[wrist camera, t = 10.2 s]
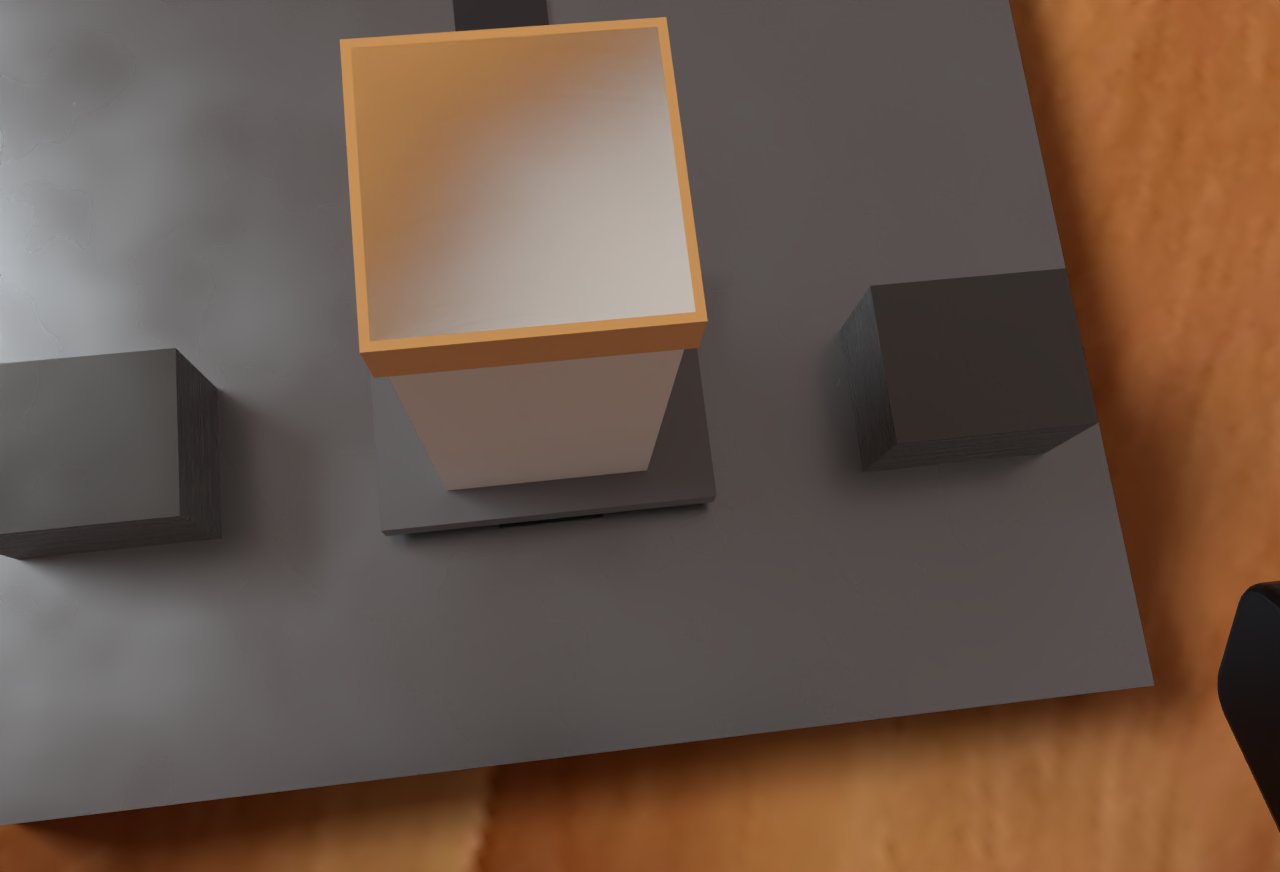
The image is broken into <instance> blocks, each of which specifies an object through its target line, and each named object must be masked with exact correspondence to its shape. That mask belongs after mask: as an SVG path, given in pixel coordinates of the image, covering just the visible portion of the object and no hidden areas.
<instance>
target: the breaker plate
mask: <svg viewBox="0 0 1280 872" xmlns="http://www.w3.org/2000/svg"><path fill="white" fill-rule="evenodd" d="M659 17H666V19H667V26H668V33H669V41H670V48H671V56H672V63H673V70H674V78H675V85H676V92H677V100H678V107H679V114H680V122H681V129H682V136H683V144H684V151H685V158H686V166H687V173H688V180H689V188H690V195H691V202H692V210H693V217H694V224H695V232H696V239H697V246H698V254H699V261H700V269H701V276H702V283H703V291H704V298H705V305H706V313H707V320H708V322H707V324H706V327H705V330H704V333H703V336H702V339H701V342H700V345H699V348H697V351H698V359H699V366H700V374H701V381H702V389H703V396H704V404H705V411H706V419H707V426H708V434H709V441H710V449H711V456H712V464H713V471H714V479H715V486H716V494H717V496H716V498H715V500H714V501H713V502H709V503H700V504H690V505H681V506H671V507H661V508H652V509H642V510H633V511H623V512H613V513H604V514H594V515H585V516H575V517H565V518H556V519H546V520H537V521H527V522H517V523H508V524H498V525H489V526H479V527H469V528H460V529H450V530H441V531H431V532H421V533H412V534H402V535H393V536H385V535H384V534H383V533H382V532H381V526H380V510H379V495H378V480H377V465H376V449H375V434H374V419H373V403H372V388H371V373H370V370H369V369H368V367H367V365H366V363H365V361H364V360H363V358H362V356H361V354H360V350H359V334H358V319H357V303H356V287H355V271H354V256H353V240H352V224H351V208H350V193H349V177H348V161H347V146H346V130H345V114H344V98H343V83H342V67H341V51H340V39H353V38H368V37H382V36H397V35H412V34H426V33H441V32H455V31H470V30H484V29H499V28H513V27H528V26H543V25H557V24H572V23H586V22H601V21H615V20H630V19H644V18H659ZM1146 686H1154V681H1153V676H1152V671H1151V666H1150V662H1149V657H1148V652H1147V648H1146V643H1145V638H1144V634H1143V629H1142V624H1141V619H1140V615H1139V610H1138V605H1137V601H1136V596H1135V591H1134V587H1133V582H1132V577H1131V572H1130V568H1129V563H1128V558H1127V554H1126V549H1125V544H1124V540H1123V535H1122V530H1121V525H1120V521H1119V516H1118V511H1117V507H1116V502H1115V497H1114V493H1113V488H1112V483H1111V478H1110V474H1109V469H1108V464H1107V460H1106V455H1105V450H1104V446H1103V441H1102V436H1101V431H1100V427H1099V422H1098V417H1097V413H1096V408H1095V403H1094V399H1093V394H1092V389H1091V384H1090V380H1089V375H1088V370H1087V366H1086V361H1085V356H1084V352H1083V347H1082V342H1081V337H1080V333H1079V328H1078V323H1077V319H1076V314H1075V309H1074V305H1073V300H1072V295H1071V290H1070V286H1069V281H1068V276H1067V272H1066V267H1065V262H1064V258H1063V253H1062V248H1061V243H1060V239H1059V234H1058V229H1057V225H1056V220H1055V215H1054V211H1053V206H1052V201H1051V196H1050V192H1049V187H1048V182H1047V178H1046V173H1045V168H1044V164H1043V159H1042V154H1041V149H1040V145H1039V140H1038V135H1037V131H1036V126H1035V121H1034V117H1033V112H1032V107H1031V102H1030V98H1029V93H1028V88H1027V84H1026V79H1025V74H1024V70H1023V65H1022V60H1021V55H1020V51H1019V46H1018V41H1017V37H1016V32H1015V27H1014V23H1013V18H1012V13H1011V8H1010V4H1009V0H0V826H1V825H9V824H17V823H26V822H34V821H42V820H50V819H59V818H67V817H75V816H83V815H92V814H100V813H108V812H116V811H125V810H133V809H141V808H149V807H158V806H166V805H174V804H182V803H190V802H199V801H207V800H215V799H223V798H232V797H240V796H248V795H256V794H265V793H273V792H281V791H289V790H298V789H306V788H314V787H322V786H330V785H339V784H347V783H355V782H363V781H372V780H380V779H388V778H396V777H405V776H413V775H421V774H429V773H438V772H446V771H454V770H462V769H471V768H479V767H487V766H495V765H503V764H512V763H520V762H528V761H536V760H545V759H553V758H561V757H569V756H578V755H586V754H594V753H602V752H611V751H619V750H627V749H635V748H644V747H652V746H660V745H668V744H676V743H685V742H693V741H701V740H709V739H718V738H726V737H734V736H742V735H751V734H759V733H767V732H775V731H784V730H792V729H800V728H808V727H817V726H825V725H833V724H841V723H849V722H858V721H866V720H874V719H882V718H891V717H899V716H907V715H915V714H924V713H932V712H940V711H948V710H957V709H965V708H973V707H981V706H989V705H998V704H1006V703H1014V702H1022V701H1031V700H1039V699H1047V698H1055V697H1064V696H1072V695H1080V694H1088V693H1097V692H1105V691H1113V690H1121V689H1130V688H1138V687H1146Z"/></svg>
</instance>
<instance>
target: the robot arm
mask: <svg viewBox="0 0 1280 872" xmlns="http://www.w3.org/2000/svg"><path fill="white" fill-rule="evenodd" d="M1218 695H1219V700H1220V703H1221V707H1222V710H1223V712H1224V715H1225V717H1226V719H1227V721H1228V723H1229V726H1230V728H1231V730H1232V732H1233V734H1234V736H1235V738H1236V741H1237V743H1238V745H1239V747H1240V749H1241V751H1242V753H1243V755H1244V758H1245V760H1246V762H1247V764H1248V766H1249V768H1250V770H1251V772H1252V775H1253V777H1254V779H1255V781H1256V783H1257V785H1258V787H1259V789H1260V792H1261V794H1262V796H1263V798H1264V800H1265V802H1266V804H1267V806H1268V809H1269V811H1270V813H1271V815H1272V817H1273V819H1274V821H1275V823H1276V826H1277V828H1278V830H1279V832H1280V581H1273V582H1264V583H1258V584H1255V585H1253V586H1251V587H1249V588H1248V589H1247V590H1246V592H1245V593H1244V594H1243V595H1242V596H1241V599H1240V601H1239V604H1238V607H1237V611H1236V614H1235V618H1234V621H1233V624H1232V628H1231V631H1230V635H1229V638H1228V641H1227V645H1226V648H1225V652H1224V655H1223V658H1222V662H1221V665H1220V669H1219V673H1218Z"/></svg>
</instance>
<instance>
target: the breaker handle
mask: <svg viewBox="0 0 1280 872" xmlns="http://www.w3.org/2000/svg"><path fill="white" fill-rule="evenodd" d="M340 51H341V67H342V83H343V98H344V114H345V130H346V146H347V161H348V177H349V193H350V208H351V224H352V240H353V256H354V271H355V287H356V303H357V319H358V334H359V350H360V354H361V356H362V358H363V360H364V361H365V363H366V365H367V367H368V369H369V370H370V373H371V388H372V403H373V419H374V434H375V449H376V465H377V480H378V495H379V510H380V526H381V532H382V533H383V534H384V535H385V536H393V535H402V534H412V533H421V532H431V531H441V530H450V529H460V528H469V527H479V526H489V525H498V524H508V523H517V522H527V521H537V520H546V519H556V518H565V517H575V516H585V515H594V514H604V513H613V512H623V511H633V510H642V509H652V508H661V507H671V506H681V505H690V504H700V503H709V502H713V501H714V500H715V498H716V496H717V494H716V486H715V479H714V471H713V464H712V456H711V449H710V441H709V434H708V426H707V419H706V411H705V404H704V396H703V389H702V381H701V374H700V366H699V359H698V351H697V348H699V345H700V342H701V339H702V336H703V333H704V330H705V327H706V324H707V322H708V320H707V313H706V305H705V298H704V291H703V283H702V276H701V269H700V261H699V254H698V246H697V239H696V232H695V224H694V217H693V210H692V202H691V195H690V188H689V180H688V173H687V166H686V158H685V151H684V144H683V136H682V129H681V122H680V114H679V107H678V100H677V92H676V85H675V78H674V70H673V63H672V56H671V48H670V41H669V33H668V26H667V19H666V17H659V18H644V19H630V20H615V21H601V22H586V23H572V24H557V25H543V26H528V27H513V28H499V29H484V30H470V31H455V32H441V33H426V34H412V35H397V36H382V37H368V38H353V39H340Z"/></svg>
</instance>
